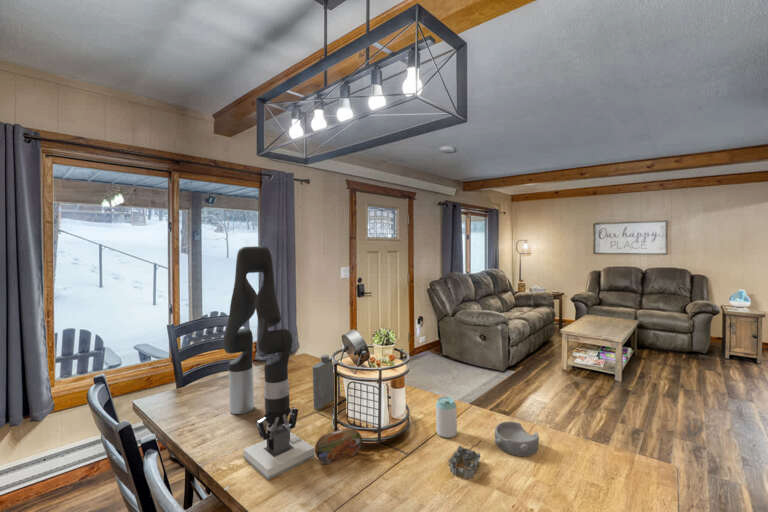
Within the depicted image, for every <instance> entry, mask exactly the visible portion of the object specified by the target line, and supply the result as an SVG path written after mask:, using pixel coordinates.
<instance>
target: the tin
mask: <svg viewBox="0 0 768 512" xmlns="http://www.w3.org/2000/svg"><path fill="white" fill-rule="evenodd" d="M362 443H363V439H362V435H361V433H360V432H359V431H358V430H356V429H354V428H352V427H347V428H342V429H340V430H336V431H333V432H332V431H331V432H328V433H326V434H323V435H322V436H320V437H319V438H318V440H317V442H316V443H315V446H314V450H315V457H316V458H317V459H318V461H319V463H321V464H324V465H330V464H332V463H336V462H339V461H342V460H345V459H348V458H349V459H350V458H352V457H354V456H355V455H356V454H357V453H358V452H359V451H360V450H361V447H362Z"/></svg>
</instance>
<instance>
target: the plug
mask: <svg viewBox="0 0 768 512" xmlns="http://www.w3.org/2000/svg"><path fill="white" fill-rule="evenodd" d="M289 450H290V443H289V430H288V429H286V428H285V427H283V426H282V425H279V426H277V427H276V430H275V432H274V434H273V450H272V451H271V450H269V449H268V452H269V453H270V454H271V455H273V456H274V457H276V456H278V455H280V454H282V453H284V452H287V451H289Z"/></svg>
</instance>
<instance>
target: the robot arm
mask: <svg viewBox="0 0 768 512" xmlns="http://www.w3.org/2000/svg"><path fill="white" fill-rule="evenodd" d="M273 267H274V265H273V257H272V254H271V251H270V249H269V248H268V247H267V246H262V245H261V246H242V247H240V248H239V249H238V251H237V254H236V264H235V273H234V274H235V276H234V284H233V289H232V295H231V300H230V306H229V314H228V320H227V325H226V328H225V330H224V331H225V332H224V335H223V341H222V342H223V343H222V345H223V350H224V352H225V353H226V354H229V355H230V354H237V353H240V355H239V356H236V357H235V358H234V359H232V360H231V361H230V362H229V363H228V387H229V390H228V391H229V411H230V413H231V414H232V415H243V414H247V413H250V412H251V411H253V410H254V408H255V402H254V401H255V397H254V393H255V392H254V372H253V370H254V368H253V367H254V366H253V363H254V361H253V360H254V358H253V357H254V355H253V353H254V352H253V350H254V349H253V348H254V346H253V345H254V337H253V332H252V330H251V329H250V328H247V327H246V328H242V327H243V326H244V325H245V324H246V323H247V322H249V320H251V318H252V317H253V316H254V314H255V312H256V317H257V321H258V335H257V343H256V344H257V345H256V346H257V349H258V351H259V352H260V354H262V355H264V356H265V355H266V356H267V355H271V354H277V355H276V356H275V357H273V358H272V359H269V360H267V361H266V362H265V363H264V369H263V370H264V386H263V387H264V388H263V389H264V393H263V394H264V395H263V396H264V411H265V413H264V415H263V418H261V419H257V420H256V421H255V425H256V427H257V431H258V433H259V437H260V438H262V439H263V441H264V440H266V439H267V448H268V449H269V450H271V451H272V450H273V434H274V432H275V430H276V427H277V426H279V425H282V426H283V427H285V428H286V429H288V430H289V441H290V432H291V430H292V429H295V428H296V426H297V425H296V424H297V419H298V414H299V409H298V408H296V407H294V406H292V407H290V404H291V402H290V382H289V376H288V375H289V372H288V369H289V367H288V365H289V359H290V355H291V351H292V347H293V340H294V339H293V335H292V332H291V330H289V329H286V328H282V329H281V328H280V329H274V330H269V329H270V328H272V327H275V326H277V325H278V324H280V322H281V321H282V316H281V312H280V307H279V304H278V300H277V295H276V288H275V287H276V285H275V276H274V275H275V274H274V273H275V272H274V268H273ZM249 273H250V274H251V273H252V274H253V273H255V274H257V273H262V275H263V280H262V283H261V285H260V288H259V290H258V291H257V292H256V291H255V289H254V287H253V285H252V284H251V283H250V282H249V279H248V278H247V275H248V274H249ZM288 417H289V418H288ZM266 422H267V425H266ZM265 428H266V429H265Z"/></svg>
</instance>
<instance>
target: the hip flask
mask: <svg viewBox="0 0 768 512" xmlns="http://www.w3.org/2000/svg"><path fill="white" fill-rule="evenodd" d="M320 359H321V361H319V362H317V363H316V364H313V365H312V391H313V392H312V396H313V397H312V398H313V410H314V409H316V410H315V411H318V410H317V409H320V410H321V409H323V408H324V407H325V406H327V405H328V404H330V403H332V402H333V401H335V400H334V373H333V365H332V357H330V355H329V354H322V355H321V356H320ZM339 396H340V397H341V377H339V376H338V399H340V398H339ZM332 400H333V401H332ZM329 402H330V403H329ZM327 403H328V404H327ZM326 404H327V405H326ZM324 405H325V406H324ZM323 406H324V407H323Z"/></svg>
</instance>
